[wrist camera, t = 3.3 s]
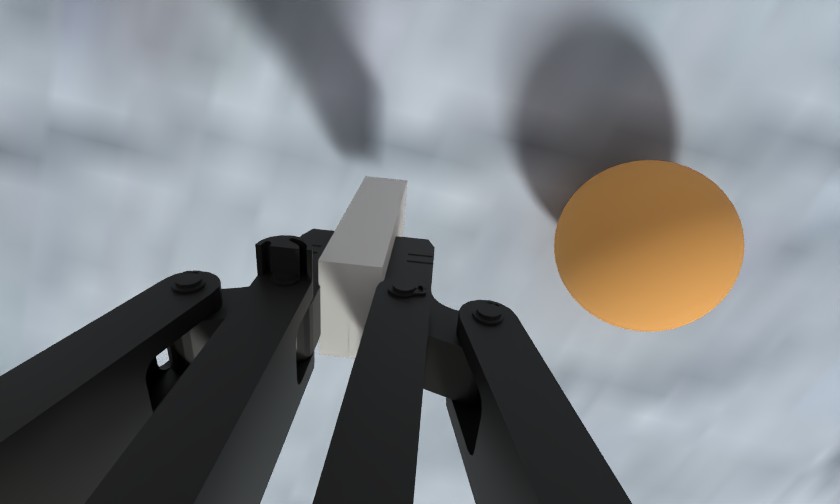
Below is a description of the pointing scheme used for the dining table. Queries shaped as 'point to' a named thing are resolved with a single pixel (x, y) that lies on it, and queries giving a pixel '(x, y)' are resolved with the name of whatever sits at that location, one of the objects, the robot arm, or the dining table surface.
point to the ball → (649, 245)
